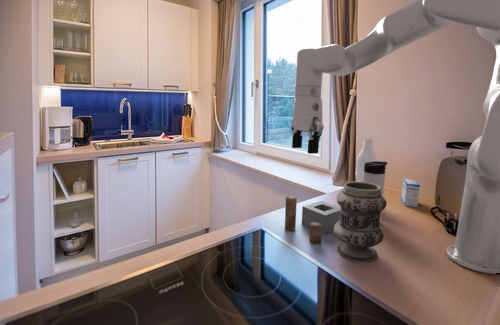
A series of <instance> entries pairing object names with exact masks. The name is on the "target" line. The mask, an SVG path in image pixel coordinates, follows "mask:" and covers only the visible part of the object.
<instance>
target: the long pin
mask: <svg viewBox="0 0 500 325" xmlns="http://www.w3.org/2000/svg"><path fill="white" fill-rule="evenodd" d="M297 202H298V201H297V197H296V196H290V195H287V196H285V210H284V211H285V212H284V213H285V215H284V230H285V231H287V232H295V231H296V226H297V225H296V223H297V220H296V219H297Z"/></svg>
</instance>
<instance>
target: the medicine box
mask: <svg viewBox="0 0 500 325" xmlns="http://www.w3.org/2000/svg"><path fill="white" fill-rule="evenodd" d="M420 187H421V185H420V183H419V182H418V181H417V179H412V178H411V179H410V178H403V181H402V187H401V188H402V189H401V198H400V199H401V202H402V203H403V205H404V206H405V207H413V208H417V207H418V204H419V195H420V190H421V188H420Z"/></svg>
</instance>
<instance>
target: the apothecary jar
mask: <svg viewBox="0 0 500 325" xmlns="http://www.w3.org/2000/svg"><path fill="white" fill-rule="evenodd" d="M336 203H337V204H338V205H339V207H341V211H340V220H339V221H338V222H337V223H336V224H335V226H334V231H333V233H334V234H335V236H336V238H337V239H339V241H341V243H340V244H338V246H337V248H336V251H337V253H338V254H339V256H341V257H343V258H345V259H347V260H350V261H354V262H360V263H362V262H363V263H364V262H365V263H366V262H371V261H374V260H376V258H377V257H378V251H377V250H376V249H375V248H374V247H375V246H377V245H379V244H380V243H382V242H383V241H384V237H385V232H384V230H383V229H382V227H381V226H380V224H381V220H380V212H381V213H382V211H384V210H385V209H386V207H387V205H388V204H387V200H386V198H385V197H384V195H383V196H382V195H381V192H380V187H379V186H378V185H376V184H372V183H367V182H357V181H347V182H345V183H344V184H343V188H342V190H340V191H339V192H338V193H337V195H336Z"/></svg>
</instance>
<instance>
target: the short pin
mask: <svg viewBox="0 0 500 325" xmlns="http://www.w3.org/2000/svg"><path fill="white" fill-rule="evenodd" d="M308 242H309V244H312V245H320V244H322V225H321V224H320V223H311V224H310V228H309V239H308Z"/></svg>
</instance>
